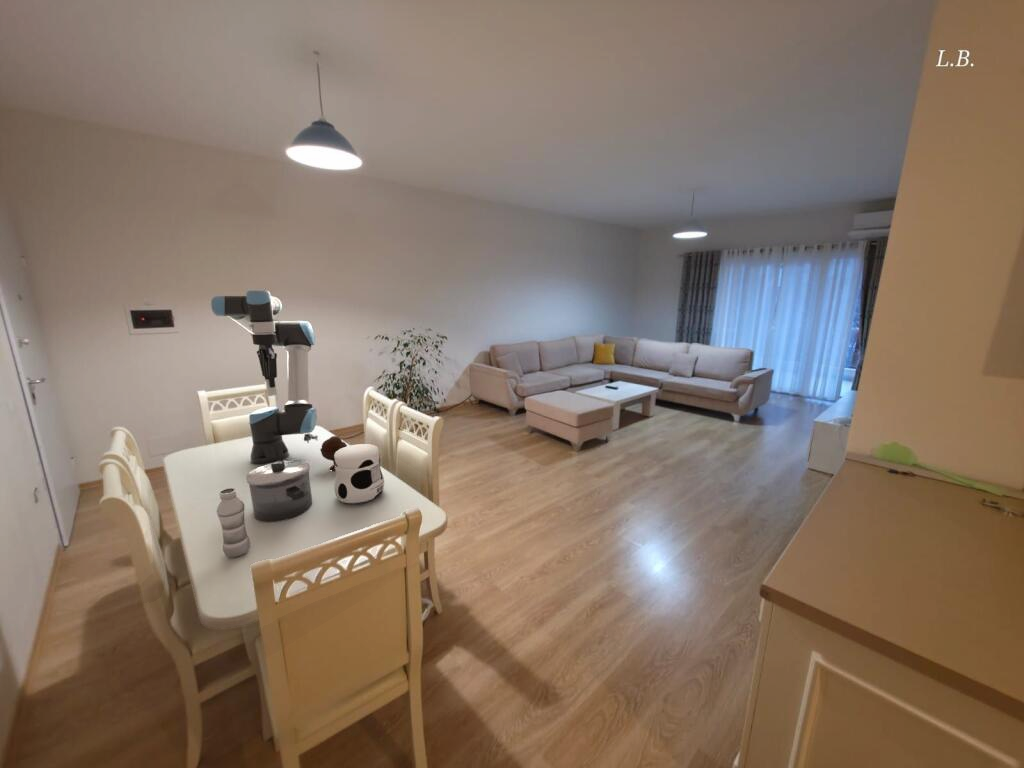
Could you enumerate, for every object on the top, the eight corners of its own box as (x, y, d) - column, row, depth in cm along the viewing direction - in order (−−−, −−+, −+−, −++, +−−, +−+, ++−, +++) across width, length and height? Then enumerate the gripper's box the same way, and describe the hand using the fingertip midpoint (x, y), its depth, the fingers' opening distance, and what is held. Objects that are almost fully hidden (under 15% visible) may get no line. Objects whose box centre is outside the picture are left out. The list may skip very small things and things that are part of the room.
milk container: (335, 490, 155) (331, 446, 151) (382, 482, 162) (379, 440, 158) (335, 512, 139) (330, 464, 135) (387, 502, 146) (384, 456, 142)
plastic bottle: (232, 547, 120) (221, 486, 116) (256, 546, 121) (246, 485, 116) (219, 561, 114) (207, 497, 110) (244, 560, 115) (233, 496, 110)
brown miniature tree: (354, 463, 179) (351, 431, 176) (341, 474, 169) (337, 440, 165) (331, 462, 180) (328, 431, 177) (317, 473, 170) (313, 440, 166)
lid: (237, 476, 139) (235, 465, 139) (295, 459, 153) (293, 449, 153) (258, 490, 126) (256, 478, 126) (319, 470, 140) (317, 460, 140)
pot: (246, 509, 141) (241, 478, 139) (299, 490, 155) (295, 461, 152) (272, 535, 126) (267, 500, 124) (329, 512, 140) (325, 480, 137)
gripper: (246, 333, 150) (255, 394, 155) (258, 335, 141) (268, 400, 147) (268, 331, 155) (276, 390, 160) (281, 333, 147) (289, 396, 152)
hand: (272, 395), depth 154 cm, fingers closed
